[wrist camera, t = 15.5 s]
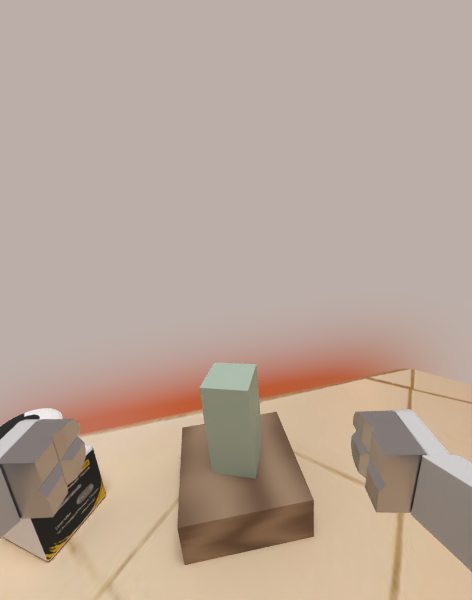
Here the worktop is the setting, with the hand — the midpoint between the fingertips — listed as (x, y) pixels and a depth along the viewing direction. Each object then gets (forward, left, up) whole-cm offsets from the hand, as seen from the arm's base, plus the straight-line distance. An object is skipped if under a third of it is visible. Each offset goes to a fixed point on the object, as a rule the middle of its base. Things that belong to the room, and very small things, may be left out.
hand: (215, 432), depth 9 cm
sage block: (-1, +17, -19) cm, 26 cm away
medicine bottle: (-21, +15, -24) cm, 35 cm away
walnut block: (-1, +17, -24) cm, 29 cm away
